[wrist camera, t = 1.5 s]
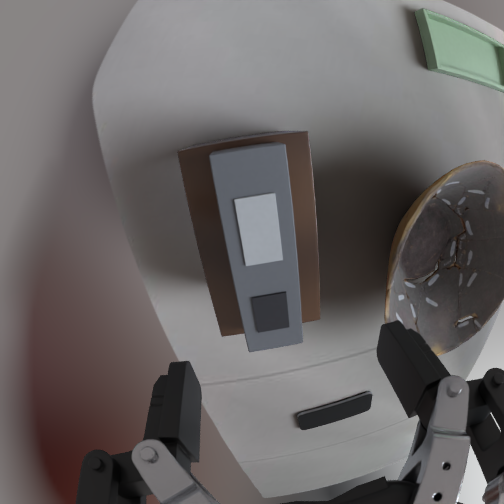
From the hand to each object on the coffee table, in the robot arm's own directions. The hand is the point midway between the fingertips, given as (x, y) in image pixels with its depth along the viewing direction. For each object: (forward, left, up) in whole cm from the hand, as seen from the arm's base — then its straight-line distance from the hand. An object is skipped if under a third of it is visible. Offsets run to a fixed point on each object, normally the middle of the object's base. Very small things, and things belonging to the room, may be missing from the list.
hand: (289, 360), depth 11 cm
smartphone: (+40, -15, -20) cm, 47 cm away
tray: (+3, +39, -20) cm, 44 cm away
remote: (0, 0, -11) cm, 11 cm away
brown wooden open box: (0, 0, -20) cm, 20 cm away
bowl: (+19, +15, -20) cm, 32 cm away
